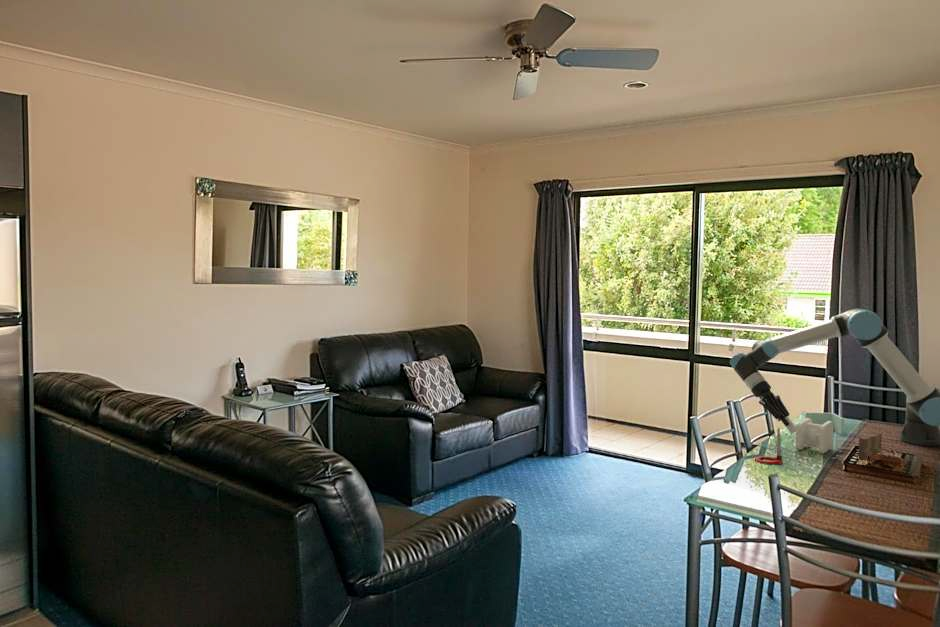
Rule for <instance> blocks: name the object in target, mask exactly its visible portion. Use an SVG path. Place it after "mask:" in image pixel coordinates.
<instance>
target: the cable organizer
mask: <svg viewBox="0 0 940 627" xmlns="http://www.w3.org/2000/svg"><path fill="white" fill-rule="evenodd" d="M794 425H795V428H796V432H795V449H796V450H798V451H800V450H801V451H803V450H804V449H805V448H807V449H809V447H813V448H815V449H816V450H818V452H819V454H822V453H823V454H822V455H825V454H826V453H827V452H829V451H830V450H831V449H832V448H833V442H834V430H833V421H827V422H826V423H824V424H822V425H820V424H813V423H812V420H811V419H809V418H805V417H804V419H801V420H800V421H798V422H797V423H796V424H794ZM802 449H803V450H802ZM828 450H829V451H828ZM825 452H826V453H825ZM824 453H825V454H824Z"/></svg>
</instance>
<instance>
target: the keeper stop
mask: <svg viewBox="0 0 940 627" xmlns="http://www.w3.org/2000/svg"><path fill="white" fill-rule="evenodd" d="M882 438H883V434H882V433H880V432H874V433H871V434H868V435H865V436H862V437H859V438H858V455H859V456H858V459H860V460H866V459H867V457H868V456H870V455H872V454H876V453H881V454H882V442H883V441H882Z"/></svg>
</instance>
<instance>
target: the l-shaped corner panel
mask: <svg viewBox="0 0 940 627" xmlns="http://www.w3.org/2000/svg"><path fill="white" fill-rule="evenodd" d="M805 418H809V419H811V420H812V423H813V424H820V425H822V424H824V423H826V422H827V421H833V432H836V433H837V434H839V435H844V428H845V427H844V426H845V418H844V417H843V416H840V415H838V414H836V413H834V412H816V411H815V412H813V411H812V412H811V411H810V412H809V411H806V412H805V415H804V419H805Z"/></svg>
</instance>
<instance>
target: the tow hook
mask: <svg viewBox="0 0 940 627" xmlns="http://www.w3.org/2000/svg"><path fill="white" fill-rule="evenodd" d="M776 442H777V443H776V444H777V445H776V446H777V448H776V457H775V456H769V455H768V456H767V455H760V456H756V457H754V461H755V462H756V461H757V462H756V463H759V462H760V463H759V464H763V463H767V464H766V465H769V464H770V465H776V464H779V465H780V464H781V465H783V456H782V446H781V445H782V443H781V442H782V440H781V428H779V427H777V434H776ZM762 458H768V459H767V460H764V459H762ZM770 459H771V460H770Z"/></svg>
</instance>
